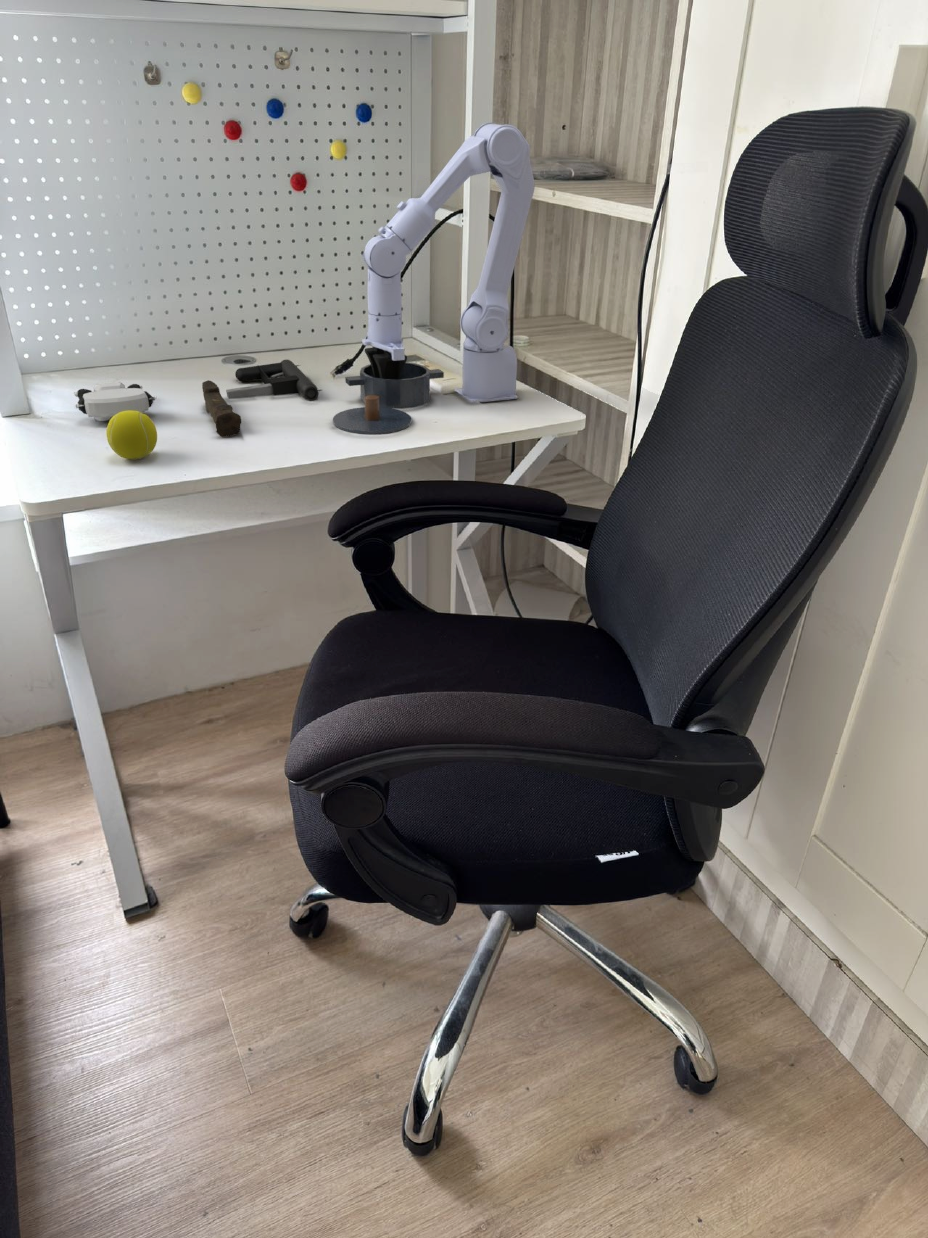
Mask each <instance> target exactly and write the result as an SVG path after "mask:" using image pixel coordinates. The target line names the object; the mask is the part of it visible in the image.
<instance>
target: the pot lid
mask: <svg viewBox="0 0 928 1238" xmlns="http://www.w3.org/2000/svg"><path fill="white" fill-rule="evenodd" d="M364 399H365V403H364V406H363V407H355V408H354V407H353V408H348V409H344V410H342V411H339V412H337V413H335V415H333V418H332V424H333V425H334V426H335V427H336V428H337V429H339V430H341V431H343V432H348V433H353V434H360V435H382V434H390V433H395V432H400V431H402V430H405V429H407V428H409V427H410V426H411V424H412V421H413V420H412V416H411V415H410V414H409V413H407V412H405V411H403V410H400V409H395V408H384V407H379V396H376V395H368V396H365V397H364Z"/></svg>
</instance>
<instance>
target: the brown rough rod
mask: <svg viewBox="0 0 928 1238" xmlns="http://www.w3.org/2000/svg"><path fill="white" fill-rule="evenodd" d="M201 386H202V395H203V400H204V405H205V410H206V412H207V413H208V414H209V415H210V417H211V418H212V420H213V421H212V422H213V423H214V424H215V429H216V431H215V432H216V433H217V434H218V435H219V437H221V438H227V437H229V438H230V437H233V436H235V435H238V434H239V433H241V429H242V428H241V425H242V418H241V415H240V414H238V413H236V412H234V410H233V406H232V405H231V404H228V403H227V401H226V400H225V398H224V397H223V396H222V395H221V391H220V387H219V386H218V385H217V384H216V383H215V382H213V380H209V379H207V380H205V381H203V382H202V383H201Z"/></svg>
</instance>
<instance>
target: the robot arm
mask: <svg viewBox="0 0 928 1238" xmlns="http://www.w3.org/2000/svg"><path fill="white" fill-rule="evenodd" d="M530 150H531V146H530V144H529V143H528V141H527V139H526V138H525V137H524V135H523V133H522V132H521V131H520V130H519V128H518V127H516V126H514V125H512V124H498V123H495V122H485V123H483V124H481V125H479V127H478V128H477V129H476V130H475V131H474V133H473V135H470V136H469V137H468V138H466V139H465V140H464V141H463V142H462V144H461V145H460V147H459V148H458V150H456V152H455V154H453V156H452V157H451V158H450V159H449V161H448V162H447V164H445V166H444V167H443V168H442V170H441V171H440V172H439V174H437V176H436V177H435V179H434V180H433V181H432V183H431V184H430V185H429V186H428V187H427V188H426V190H425V191H424V193H423V194H421V196H420V197H412V198H408V199H407V200H406V202H404V201H400V202H399V203H398V205H397V206H396V208H397V212H396V213H395V215H393V217H392V218H391V219H390V220H389V221H388V223H387V224H386V225H385V226H382V225H381V226H380V227H379V228H378V230H377V232H378V233H379V234H380V235H377V236H373V237H372V238H370V239H369V240H368V241H367V243H366V245H365V247H364V252H362V259H363V261H364V263H365V265H366V266H367V285H366V286H367V289H366V291H367V293H366V294H367V321H368V322H367V323H368V324H367V325H368V326H367V327H368V329H367V330H366V332H367V333H366V335H367V338H362V339H361V344H362V345H363V346H367V347H366V348H364V353H365V355H366V357H367V359H368V361H369V364H371V367H372V370H373V374H374V377H376V378H383V379H399V377H400V374H401V371H402V368H403V366H404V364H405V363H406V362H408V356H407V355H406V352H405V349H406V348H404V339H403V325H402V324H403V320H402V319H403V318H402V317H403V315H402V313H403V311H402V281H401V274H402V273H401V271H403V270H404V268H405V266H406V261H407V256H408V255H410V254H411V253H412V252H413V251H414V249H415V248H416V247H417V246H418V245H419V244H420V242H421V241H423V239H424V238H425V237H426V236H427V235H428V234H429V232H430V231H431V230H432V229H433V228H434V227H435V225H436V213H437V211H438V210H440V208H441V207H443V205H444V204H445V203H446V202H447V201H448V200H449V199H450V198H451V197H452V196H453V195H454V194H455V193H456V192H457V191H458V190H459V188H461V187H462V185H464V183H465V182H466V181H467V180H468V179H469V178H470V177H472V176H477V175H481V174H485V173H490V174H491V175H492V177H493V179H494V180H495V182H496V183H497V185H498V187H499V189H500V196H499V201H498V204H497V208H496V213H495V216H494V221H493V225H492V229H491V233H490V237H489V241H488V245H487V249H486V254H485V258H484V261H483V265H482V268H481V269H482V270H481V274H480V277H479V282H478V286H477V288H476V289H475V290H474V292H473V293H471V296H470V300H469V303H468V305H467V306H466V308H465V309H464V310H463V312H462V313H461V316H460V319H459V324H460V325H459V326H460V329H461V331H462V333H463V334H464V335H465V339H464V341H463V343H462V379H461V381H462V385H461V388H454V391H455V392H456V393H458V394H459V395H460V396H461V397H463V398H464V399H466V400H467V401H468V402H479V403H487V402H498V401H507V400H508V401H509V400H517V399H518V395H516V394H517V374H518V358H517V354H516V351H515V349H514V348H513V346H511V345H505V343H506V341H507V340H508V337H509V332H510V331H509V329H510V328H509V324H508V323H509V322H508V317H509V316H508V315H509V312H510V307H509V301H508V300H509V299H508V292H509V289H510V285H511V281H512V277H513V274H514V270H515V265H516V262H517V257H518V254H519V250H520V246H521V242H522V240H523V235H524V231H525V228H526V223H527V218H528V215H529V212H530V208H531V204H532V200H533V196H534V193H535V186H536V184H535V178H534V173H533V169H532V163H531V158H530ZM368 346H370V347H368Z"/></svg>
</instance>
